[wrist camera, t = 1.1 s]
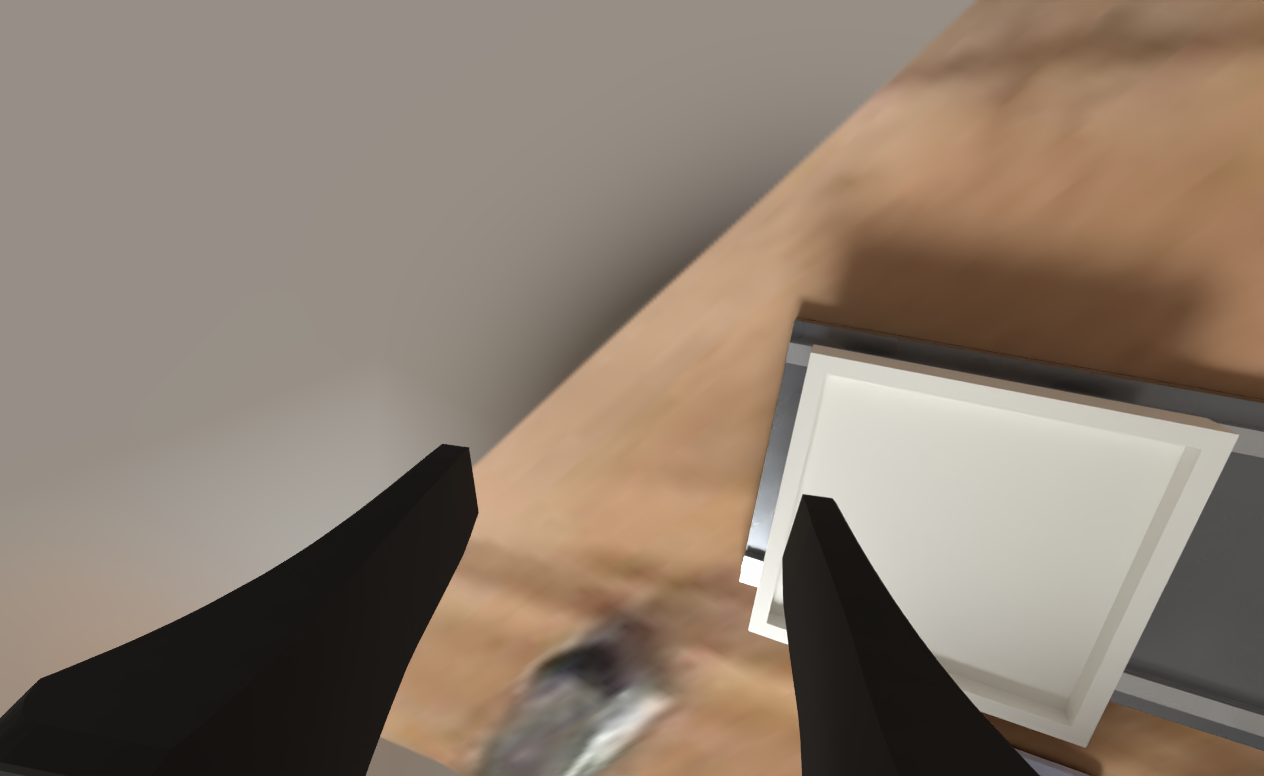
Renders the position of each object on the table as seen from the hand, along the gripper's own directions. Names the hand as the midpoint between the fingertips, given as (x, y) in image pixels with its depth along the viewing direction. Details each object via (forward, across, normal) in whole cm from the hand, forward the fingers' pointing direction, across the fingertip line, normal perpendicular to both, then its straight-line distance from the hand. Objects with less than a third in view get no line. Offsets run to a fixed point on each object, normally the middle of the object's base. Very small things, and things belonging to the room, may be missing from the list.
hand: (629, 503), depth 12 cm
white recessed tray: (+8, -11, +6) cm, 15 cm away
